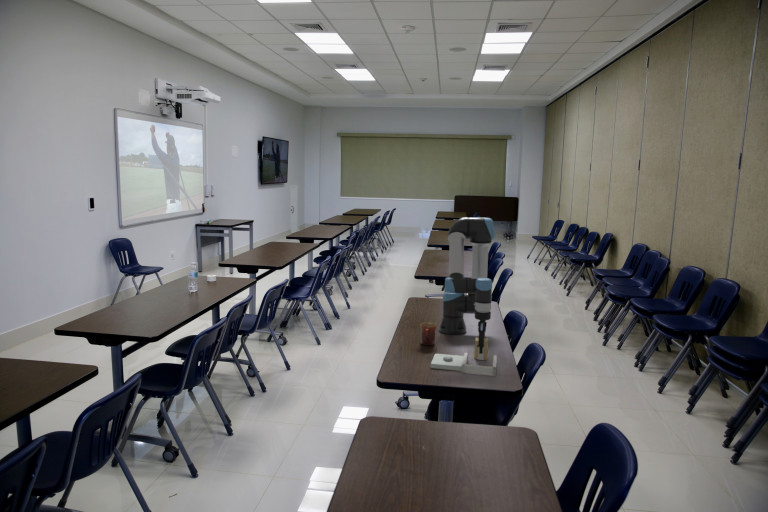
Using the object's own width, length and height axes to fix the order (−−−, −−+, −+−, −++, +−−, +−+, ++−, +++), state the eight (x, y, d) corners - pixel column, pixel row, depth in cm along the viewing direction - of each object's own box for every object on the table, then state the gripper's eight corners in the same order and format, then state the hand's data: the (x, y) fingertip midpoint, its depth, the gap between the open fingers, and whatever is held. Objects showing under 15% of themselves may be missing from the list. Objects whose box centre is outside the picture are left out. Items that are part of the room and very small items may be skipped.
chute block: (475, 355, 246) (475, 337, 245) (487, 356, 245) (488, 338, 243) (474, 358, 241) (475, 340, 240) (487, 359, 240) (487, 341, 238)
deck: (435, 356, 243) (435, 350, 242) (496, 362, 236) (496, 355, 236) (429, 369, 227) (430, 362, 226) (495, 376, 220) (496, 368, 219)
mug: (420, 340, 268) (420, 321, 266) (437, 341, 266) (437, 322, 264) (417, 347, 256) (417, 328, 255) (434, 349, 254) (435, 329, 253)
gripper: (476, 305, 250) (474, 349, 253) (473, 315, 231) (471, 363, 234) (491, 306, 248) (489, 351, 251) (490, 316, 229) (488, 364, 232)
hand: (481, 356), depth 243 cm, fingers open, 7 cm apart
